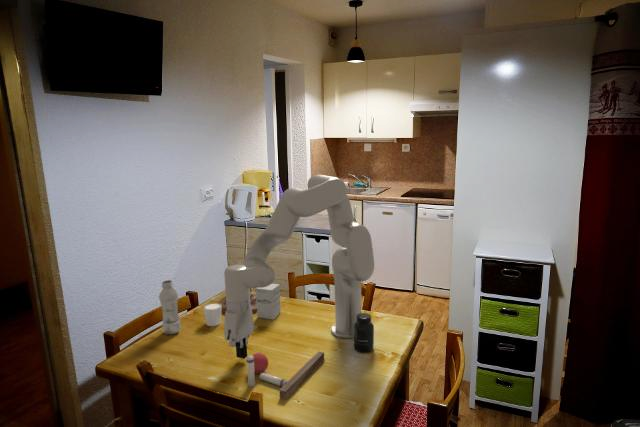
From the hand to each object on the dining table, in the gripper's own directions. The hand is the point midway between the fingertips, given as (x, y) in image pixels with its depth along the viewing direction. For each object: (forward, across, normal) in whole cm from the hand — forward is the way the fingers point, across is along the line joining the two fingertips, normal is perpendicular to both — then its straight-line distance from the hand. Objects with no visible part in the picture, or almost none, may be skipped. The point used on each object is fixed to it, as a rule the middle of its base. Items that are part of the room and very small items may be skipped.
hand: (241, 356), depth 145 cm
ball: (-2, +3, +9) cm, 9 cm away
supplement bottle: (+2, -24, +33) cm, 41 cm away
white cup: (+2, -19, -28) cm, 34 cm away
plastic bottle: (+2, -6, -37) cm, 38 cm away
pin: (0, +6, +12) cm, 13 cm away
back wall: (+2, 0, +23) cm, 23 cm away
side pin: (+2, +10, +11) cm, 15 cm away
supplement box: (+2, -34, -12) cm, 36 cm away
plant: (+2, -38, -29) cm, 48 cm away
